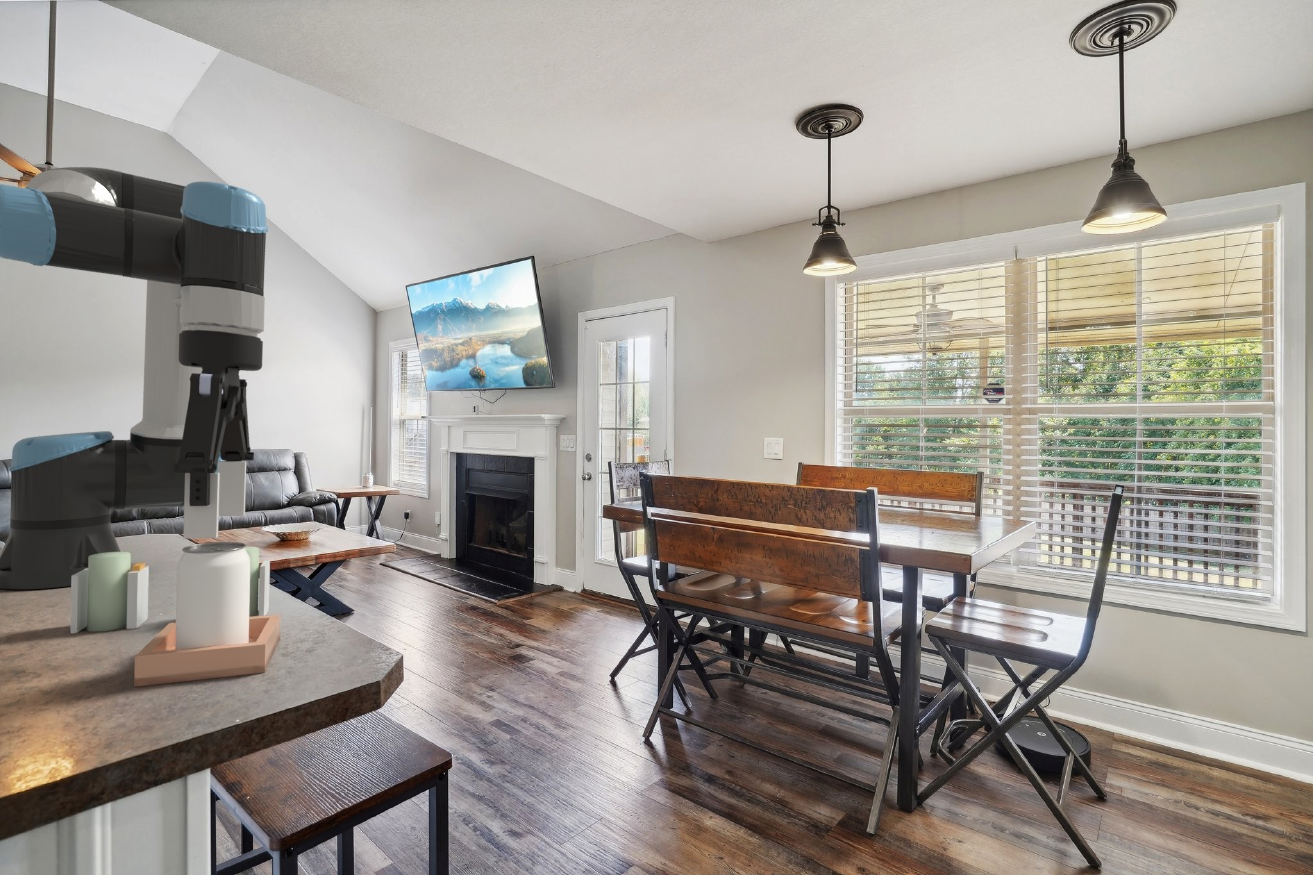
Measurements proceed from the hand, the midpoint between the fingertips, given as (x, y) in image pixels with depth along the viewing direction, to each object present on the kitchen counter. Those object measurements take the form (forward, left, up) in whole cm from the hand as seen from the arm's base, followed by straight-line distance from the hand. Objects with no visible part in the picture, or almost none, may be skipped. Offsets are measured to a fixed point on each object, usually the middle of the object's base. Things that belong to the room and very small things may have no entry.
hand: (217, 525), depth 69 cm
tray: (0, 0, -15) cm, 15 cm away
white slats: (-17, -7, -15) cm, 23 cm away
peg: (-17, -14, -15) cm, 27 cm away
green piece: (-17, 0, -15) cm, 22 cm away
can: (+2, 0, -14) cm, 14 cm away
